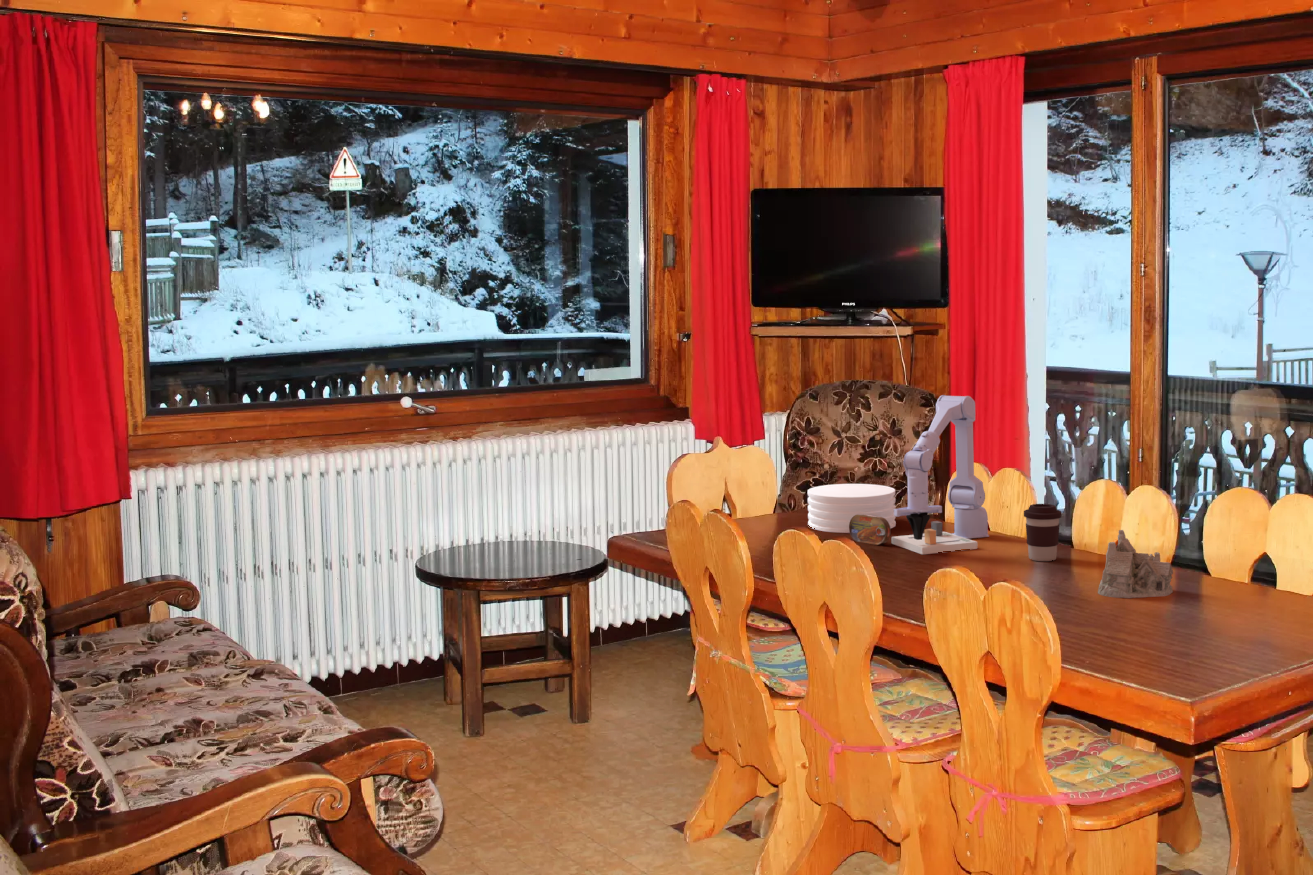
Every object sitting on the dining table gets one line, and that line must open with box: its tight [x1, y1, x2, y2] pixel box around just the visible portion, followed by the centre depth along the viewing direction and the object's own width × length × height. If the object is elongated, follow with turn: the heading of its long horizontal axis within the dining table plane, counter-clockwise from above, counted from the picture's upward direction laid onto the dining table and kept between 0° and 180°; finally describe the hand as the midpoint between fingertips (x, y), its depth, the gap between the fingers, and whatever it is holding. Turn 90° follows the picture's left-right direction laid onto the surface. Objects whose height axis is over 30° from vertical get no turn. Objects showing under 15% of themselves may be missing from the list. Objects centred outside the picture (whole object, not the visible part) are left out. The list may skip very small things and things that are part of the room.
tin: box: [849, 515, 891, 546], centre depth 382 cm, size 15×3×8 cm, turn 37°
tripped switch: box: [924, 528, 936, 544], centre depth 368 cm, size 2×3×4 cm, turn 18°
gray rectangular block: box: [930, 520, 943, 536], centre depth 380 cm, size 2×3×4 cm, turn 18°
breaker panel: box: [890, 531, 978, 555], centre depth 374 cm, size 18×18×2 cm
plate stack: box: [807, 483, 897, 534], centre depth 412 cm, size 28×28×12 cm
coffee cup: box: [1023, 503, 1062, 562], centre depth 351 cm, size 10×10×15 cm
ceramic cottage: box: [1097, 529, 1174, 599], centre depth 311 cm, size 16×16×15 cm
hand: (918, 539), depth 367 cm, fingers closed
